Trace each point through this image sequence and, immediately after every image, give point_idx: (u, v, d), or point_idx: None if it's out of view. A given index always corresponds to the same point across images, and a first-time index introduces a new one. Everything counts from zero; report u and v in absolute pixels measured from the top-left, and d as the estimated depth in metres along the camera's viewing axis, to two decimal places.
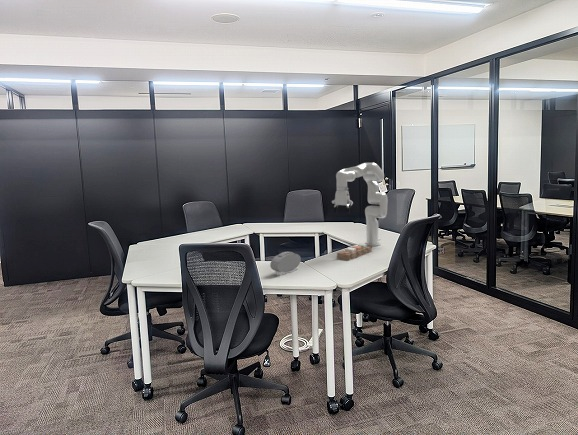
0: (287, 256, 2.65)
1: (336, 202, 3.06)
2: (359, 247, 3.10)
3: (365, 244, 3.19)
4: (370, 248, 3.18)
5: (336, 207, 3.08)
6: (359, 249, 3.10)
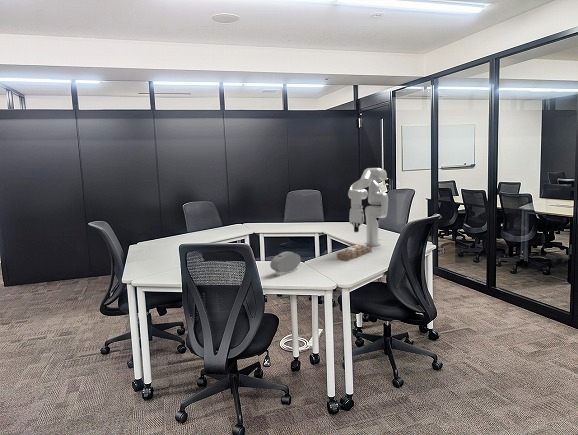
0: (287, 256, 2.65)
1: (350, 220, 3.09)
2: (359, 247, 3.10)
3: (365, 244, 3.19)
4: (370, 248, 3.18)
5: None
6: (359, 249, 3.10)
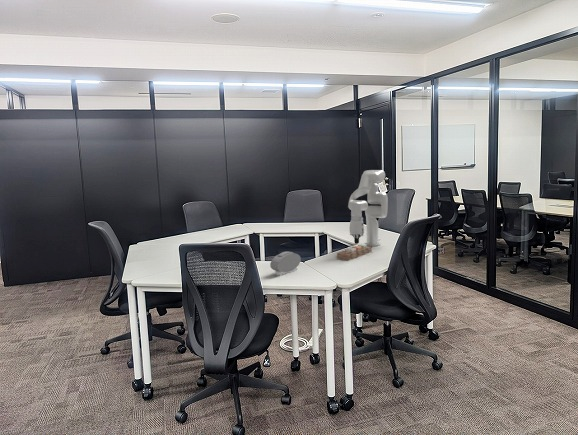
0: (287, 256, 2.65)
1: (351, 231, 3.11)
2: (359, 247, 3.10)
3: (365, 244, 3.19)
4: (370, 248, 3.18)
5: None
6: (359, 249, 3.10)
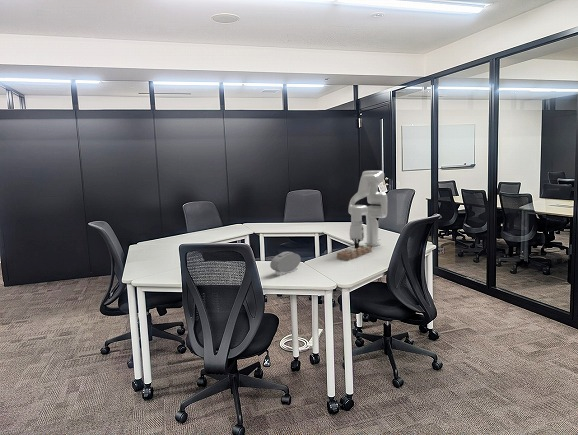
0: (287, 256, 2.65)
1: (351, 236, 3.11)
2: (359, 248, 3.10)
3: (365, 244, 3.19)
4: (370, 248, 3.18)
5: None
6: None
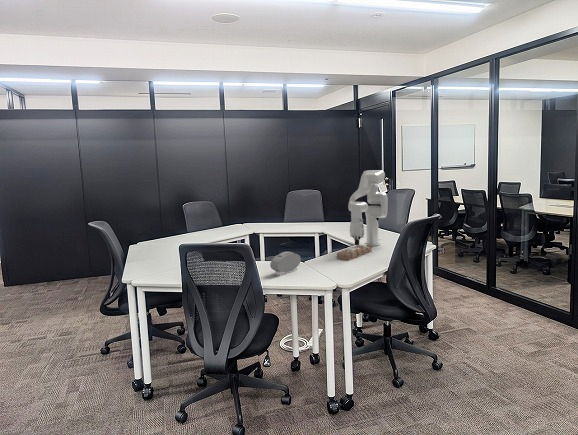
0: (287, 256, 2.65)
1: (351, 233, 3.11)
2: (359, 249, 3.10)
3: (365, 244, 3.19)
4: (370, 248, 3.18)
5: (356, 240, 3.11)
6: None
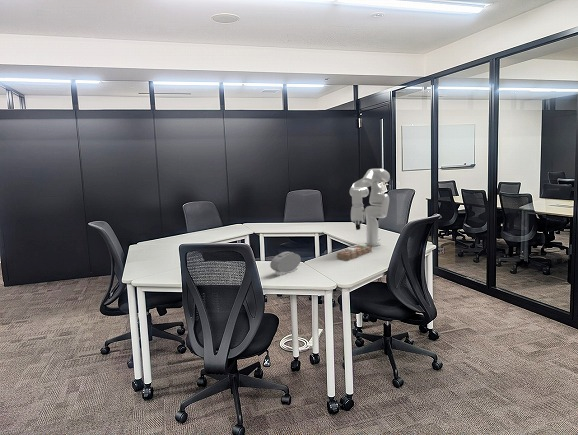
0: (287, 256, 2.65)
1: (352, 218, 3.17)
2: (359, 249, 3.10)
3: (365, 244, 3.19)
4: (370, 248, 3.18)
5: (357, 224, 3.17)
6: None
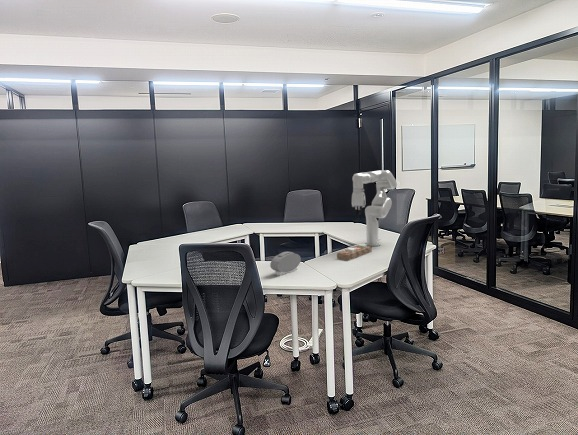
0: (287, 256, 2.65)
1: (352, 203, 3.24)
2: (359, 249, 3.10)
3: (365, 244, 3.19)
4: (370, 248, 3.18)
5: (357, 209, 3.24)
6: None
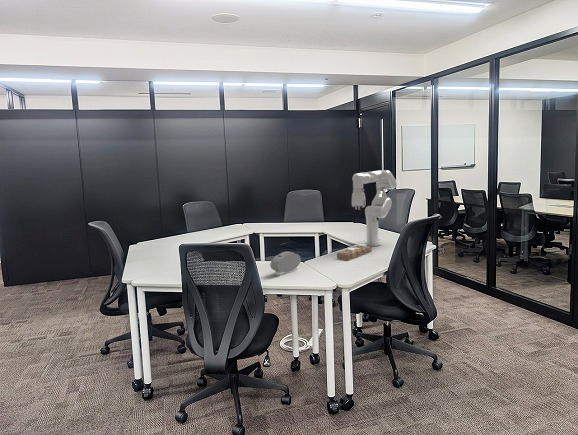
0: (287, 256, 2.65)
1: (352, 203, 3.24)
2: (359, 249, 3.10)
3: (365, 244, 3.19)
4: (370, 248, 3.18)
5: (357, 209, 3.24)
6: None
